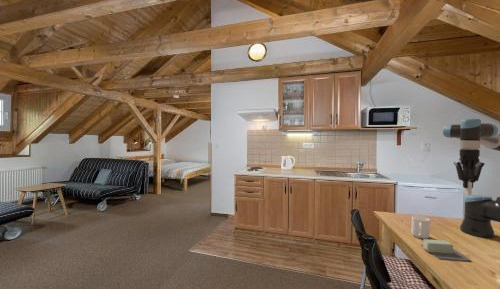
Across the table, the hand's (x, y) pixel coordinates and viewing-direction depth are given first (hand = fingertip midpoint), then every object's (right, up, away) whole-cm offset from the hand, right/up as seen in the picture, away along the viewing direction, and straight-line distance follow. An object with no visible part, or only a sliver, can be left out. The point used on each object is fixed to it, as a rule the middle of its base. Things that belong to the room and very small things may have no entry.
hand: (467, 194), depth 121 cm
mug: (-14, -28, +15) cm, 35 cm away
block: (-13, -26, -3) cm, 29 cm away
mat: (-15, -29, -4) cm, 33 cm away
